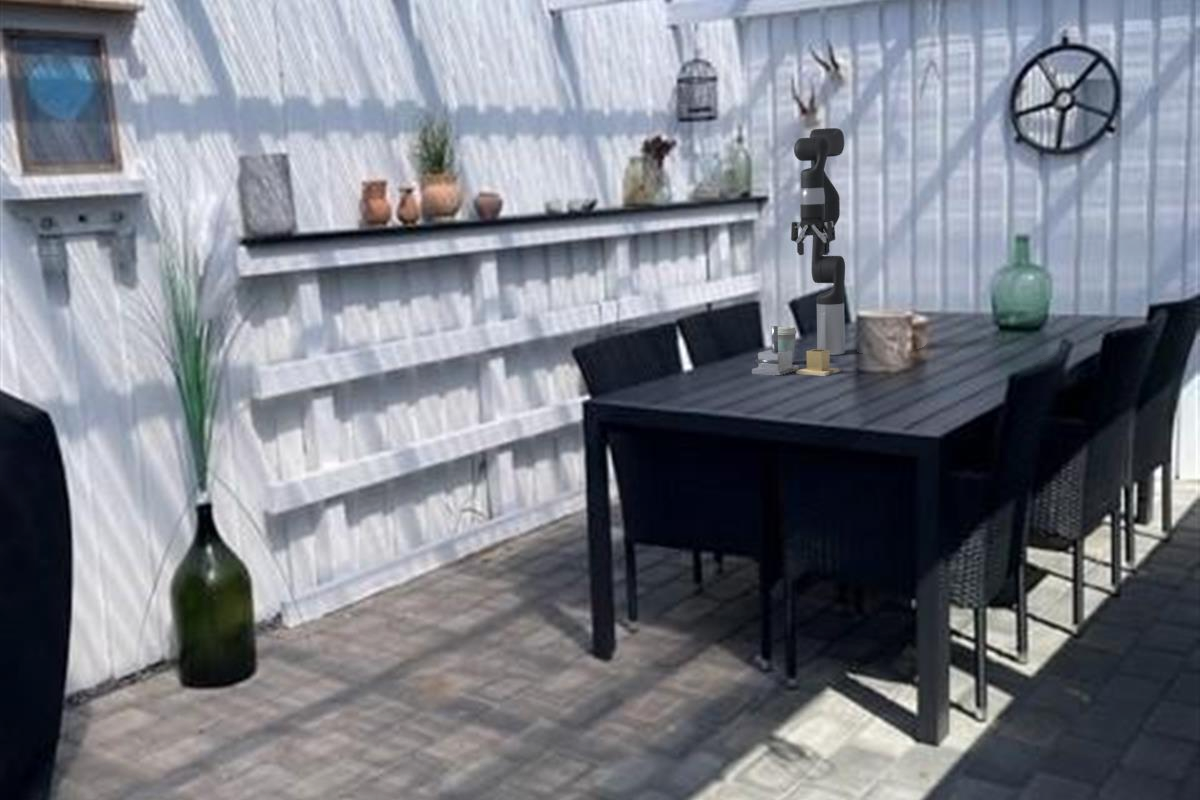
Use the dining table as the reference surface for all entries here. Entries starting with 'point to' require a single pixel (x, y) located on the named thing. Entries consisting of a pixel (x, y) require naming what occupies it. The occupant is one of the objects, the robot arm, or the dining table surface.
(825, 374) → the beige pad
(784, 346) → the coffee cup
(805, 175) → the robot arm
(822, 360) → the collar
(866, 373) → the dining table surface
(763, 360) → the block
